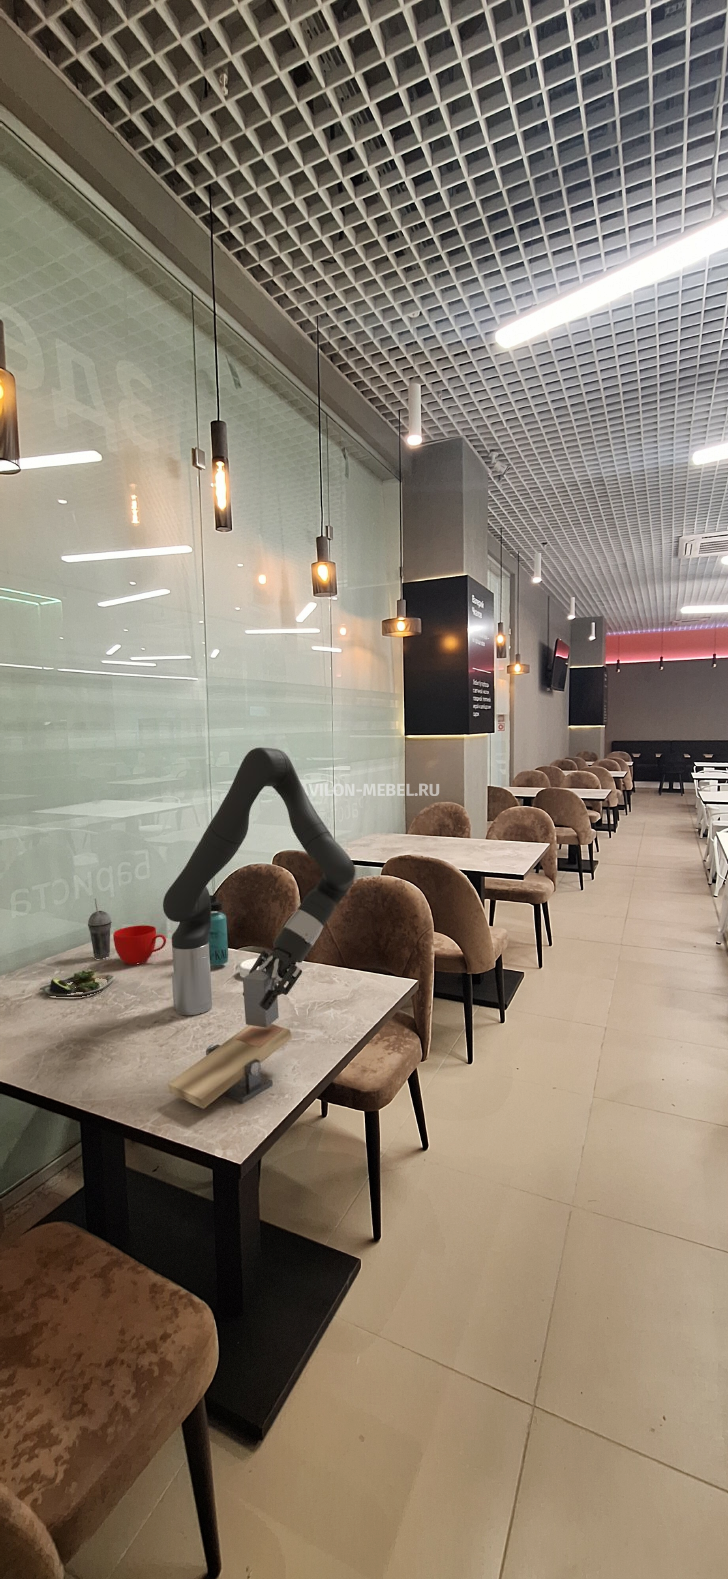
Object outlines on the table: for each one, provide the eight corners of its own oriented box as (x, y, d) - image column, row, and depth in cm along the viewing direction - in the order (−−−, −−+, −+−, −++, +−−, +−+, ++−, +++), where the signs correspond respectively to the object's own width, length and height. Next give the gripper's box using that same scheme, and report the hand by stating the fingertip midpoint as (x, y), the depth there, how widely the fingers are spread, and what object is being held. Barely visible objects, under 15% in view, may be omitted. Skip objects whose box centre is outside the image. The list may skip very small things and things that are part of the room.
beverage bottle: (209, 963, 209) (205, 901, 207) (230, 962, 209) (227, 899, 208) (205, 971, 202) (202, 906, 201) (228, 969, 203) (224, 905, 201)
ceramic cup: (157, 969, 205) (155, 937, 204) (106, 968, 208) (104, 936, 207) (176, 955, 218) (174, 925, 217) (128, 954, 221) (126, 925, 220)
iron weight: (245, 1024, 139) (242, 978, 139) (258, 1014, 144) (255, 969, 143) (266, 1027, 137) (263, 980, 137) (278, 1017, 142) (275, 972, 141)
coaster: (273, 967, 204) (272, 956, 204) (274, 978, 194) (274, 967, 194) (240, 970, 202) (239, 959, 202) (239, 982, 192) (239, 970, 192)
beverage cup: (118, 955, 220) (114, 895, 219) (103, 962, 214) (99, 901, 212) (100, 953, 223) (96, 894, 221) (85, 960, 216) (80, 900, 214)
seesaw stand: (195, 1082, 136) (194, 1053, 135) (226, 1066, 142) (224, 1038, 142) (242, 1103, 127) (241, 1072, 127) (272, 1085, 134) (271, 1055, 133)
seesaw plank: (169, 1092, 129) (167, 1082, 128) (258, 1027, 147) (256, 1018, 146) (203, 1108, 122) (201, 1098, 122) (291, 1038, 141) (289, 1029, 140)
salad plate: (75, 974, 204) (74, 959, 204) (128, 976, 201) (127, 961, 200) (32, 999, 186) (30, 983, 185) (89, 1001, 182) (88, 985, 182)
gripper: (270, 920, 149) (226, 984, 143) (305, 933, 138) (258, 1004, 132) (292, 937, 153) (250, 1001, 147) (327, 952, 142) (283, 1022, 135)
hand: (254, 1002), depth 139 cm, fingers closed on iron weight, 7 cm apart
